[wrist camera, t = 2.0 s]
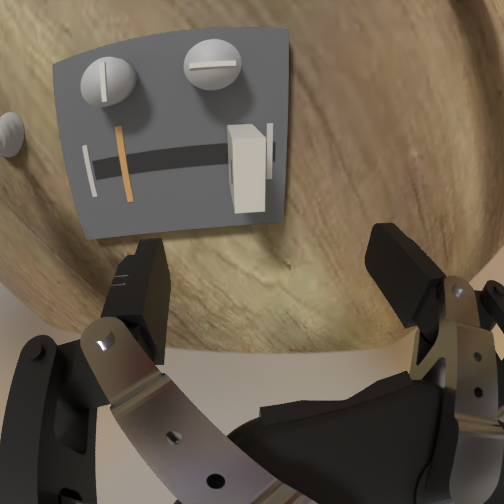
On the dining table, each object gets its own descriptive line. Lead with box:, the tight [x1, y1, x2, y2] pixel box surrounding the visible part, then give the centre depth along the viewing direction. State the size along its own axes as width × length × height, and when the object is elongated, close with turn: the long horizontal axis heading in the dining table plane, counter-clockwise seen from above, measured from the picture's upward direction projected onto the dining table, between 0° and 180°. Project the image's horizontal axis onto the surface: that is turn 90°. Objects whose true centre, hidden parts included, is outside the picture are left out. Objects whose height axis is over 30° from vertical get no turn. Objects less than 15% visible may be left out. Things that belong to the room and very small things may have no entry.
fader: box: [227, 124, 266, 214], centre depth 19 cm, size 2×5×6 cm, turn 2°
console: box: [53, 27, 289, 240], centre depth 19 cm, size 20×18×4 cm
